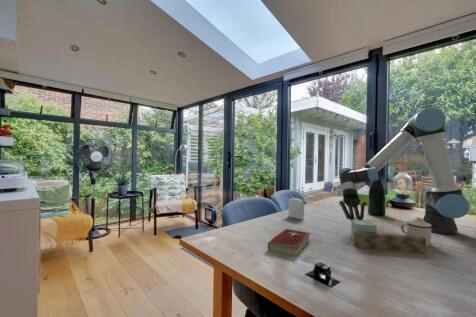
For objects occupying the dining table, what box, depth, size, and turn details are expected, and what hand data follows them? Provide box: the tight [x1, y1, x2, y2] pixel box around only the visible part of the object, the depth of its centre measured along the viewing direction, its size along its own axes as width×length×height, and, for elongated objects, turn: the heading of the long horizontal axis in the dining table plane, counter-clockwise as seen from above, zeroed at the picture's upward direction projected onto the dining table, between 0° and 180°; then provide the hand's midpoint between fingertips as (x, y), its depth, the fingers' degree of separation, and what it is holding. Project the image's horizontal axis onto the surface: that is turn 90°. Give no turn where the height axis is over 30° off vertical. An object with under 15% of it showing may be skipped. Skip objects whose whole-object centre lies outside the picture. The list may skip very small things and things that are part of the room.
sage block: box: [350, 219, 378, 242], centre depth 104 cm, size 8×8×9 cm
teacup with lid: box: [400, 216, 432, 247], centre depth 105 cm, size 12×9×12 cm
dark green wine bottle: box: [367, 168, 387, 217], centre depth 158 cm, size 10×10×33 cm
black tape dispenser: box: [304, 261, 341, 288], centre depth 72 cm, size 12×7×5 cm, turn 38°
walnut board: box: [353, 231, 427, 255], centre depth 96 cm, size 26×3×6 cm, turn 78°
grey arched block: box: [288, 197, 305, 221], centre depth 144 cm, size 10×4×12 cm, turn 39°
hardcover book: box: [267, 228, 311, 257], centre depth 99 cm, size 12×21×4 cm, turn 149°
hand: (358, 231), depth 109 cm, fingers closed
